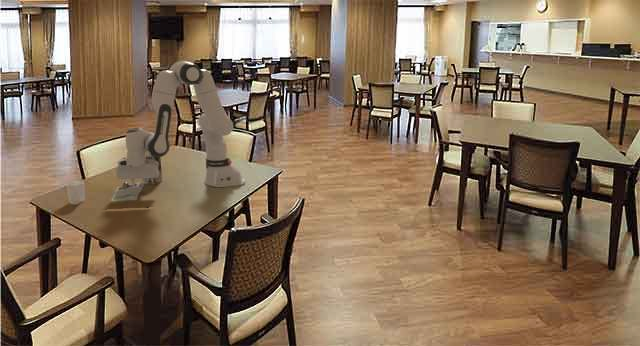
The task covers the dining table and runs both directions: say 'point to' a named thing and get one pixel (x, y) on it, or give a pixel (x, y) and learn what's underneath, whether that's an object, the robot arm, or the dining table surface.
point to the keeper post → (125, 186)
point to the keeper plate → (126, 197)
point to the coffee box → (159, 178)
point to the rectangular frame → (127, 190)
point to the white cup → (76, 192)
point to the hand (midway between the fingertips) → (138, 186)
